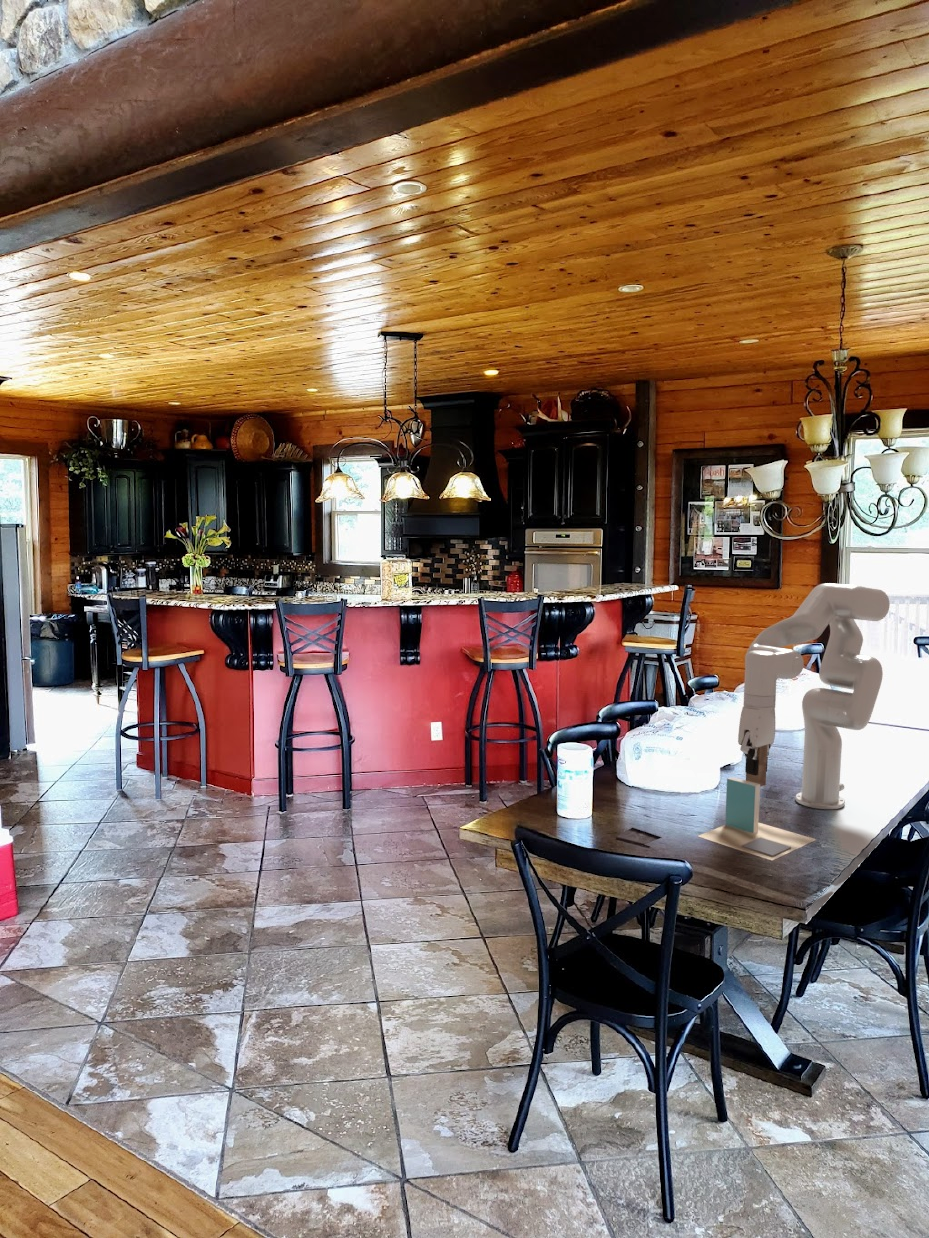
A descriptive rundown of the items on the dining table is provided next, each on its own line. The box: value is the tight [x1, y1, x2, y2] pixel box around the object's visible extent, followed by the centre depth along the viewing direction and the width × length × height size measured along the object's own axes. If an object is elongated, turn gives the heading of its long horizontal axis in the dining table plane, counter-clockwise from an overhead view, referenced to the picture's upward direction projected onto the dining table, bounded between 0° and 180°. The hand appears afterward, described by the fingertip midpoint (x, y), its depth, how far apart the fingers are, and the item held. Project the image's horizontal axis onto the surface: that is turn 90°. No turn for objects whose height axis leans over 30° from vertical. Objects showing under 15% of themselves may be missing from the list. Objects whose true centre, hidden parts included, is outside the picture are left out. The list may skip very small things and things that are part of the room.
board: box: [697, 822, 817, 861], centre depth 219 cm, size 20×20×1 cm
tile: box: [724, 776, 761, 834], centre depth 225 cm, size 2×8×12 cm, turn 41°
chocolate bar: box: [615, 827, 663, 848], centre depth 226 cm, size 9×1×18 cm
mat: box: [742, 837, 791, 857], centre depth 213 cm, size 8×8×1 cm
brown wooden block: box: [745, 744, 768, 788], centre depth 227 cm, size 4×4×12 cm
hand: (756, 771), depth 228 cm, fingers closed on brown wooden block, 3 cm apart
